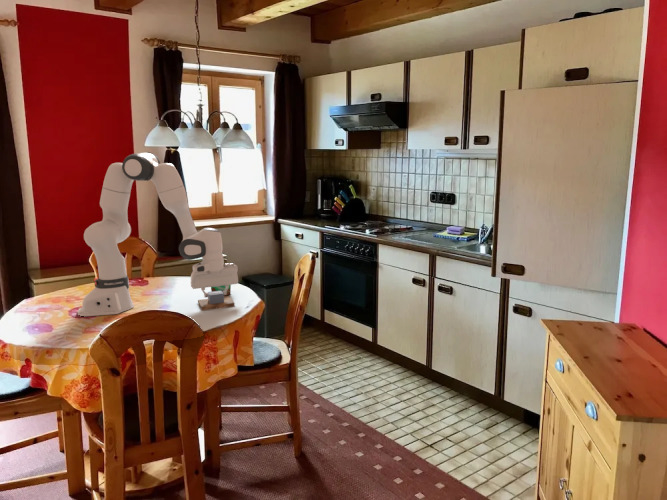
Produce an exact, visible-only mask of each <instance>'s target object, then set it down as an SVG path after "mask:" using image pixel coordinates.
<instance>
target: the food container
mask: <svg viewBox="0 0 667 500" xmlns="http://www.w3.org/2000/svg"><path fill="white" fill-rule="evenodd" d="M231 286H232V285H229V288H228V290H227V295H224V297H227V296H230V295H231V292H232V291H231ZM225 288H226V287H225V285H224V286H215V287H210V290H211V291H210V292H213V291H222V292H223V291H224V290H225Z"/></svg>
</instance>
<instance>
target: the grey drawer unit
mask: <svg viewBox="0 0 667 500" xmlns="http://www.w3.org/2000/svg"><path fill="white" fill-rule="evenodd" d="M207 293H208V297H207V299H208V301H209V303H210V304H217V303H224V294H223V292H222V291H213V292H212V291H207Z"/></svg>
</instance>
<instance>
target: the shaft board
mask: <svg viewBox="0 0 667 500" xmlns="http://www.w3.org/2000/svg"><path fill="white" fill-rule="evenodd" d="M197 304H198V305H199V307H200V309H201V311H207V310H208V311H209V310H215V309H224V308H231V307H236V305H235V304H236V303H235V301H234V300H233V299H232V297H231V296H230V295H229V296H225V297H224V303H217V304H210V303H209V301H208V298H205V299H204V298H203V299H198V300H197Z"/></svg>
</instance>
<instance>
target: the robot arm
mask: <svg viewBox="0 0 667 500" xmlns="http://www.w3.org/2000/svg"><path fill="white" fill-rule="evenodd" d="M135 181H138V182H140V181H141V182H142V181H146V182H148V181H151V182H152V183H153V185H154V186H155V189H156V193H157V196H158V198H159V200H160V201H161V204H162V205H163V207H164V208H165V209H166V210H167V211H169V212H170V213H171V214H173V216H174V217H175V219H176V221H177V223H178V226H179V228H180V231H181V234H182V240H181V242H180V243H179V245H178V251H179V255H180V256H181V257H182V258H183V259H185V260H189V261H191V260H196V259H200V258H202V261H200V262H198V263H195V264H192V272H191V274H190V287H191V289H193V290H194V289H195V290H196V289H201V291H202V293H203V296H204V298H205V299H207V298H208V292H206V291H205V290H206V288H211V287H215V286H224V285H225V287H226V288H225V290H224V291H223V294H224V295H227V290H228V288H229V285H231V286H232V285H236V284H238V283H239V277H238V265H237V264H235V263H234V262H233V263H232V262H231V263H225V262H224V255H223V247H224V246H223V238H222V233H221V232H220V230H219V229H217V228H213V227H204V228H202V229H201V230H200V231H199V230H198V229H197V227H196V225H195V221H194V219H193V217H192V213H191V211H190V207H189V202H188V197H187V196H188V195H187V192H186V189H185V188H186V187H185V186H184V183H183V180H182V178H181V176H180V174H179V172H178V170H177V169H176V167H175V165H174V164H173V163H170V162H169V163H168V162H163V163H162V162H161V161H160V159H159V157H158V156H157V155H156V154H155V153H152V152H149V151H137V152H135V153H132V154H129V155H128V156H127V155H126V157H125V158H124V160H123V161H122V162H114V163H111V164H110V165H109V166H108V168H107V170H106V173H105V176H104V180H103V185H102V189H101V194H100V199H99V207H100V208H101V209H102V220H101V221H96V222H94V223H92V224H91V225H89V226H88V227H87V228H86V229H85V230H84V233H83V240H84V241H85V243H86V245H87V246H88V247H90V248H91V250H92V252H93V254H94V257H95V260H96V263H97V271H98V277H95V278H94V279H93V283H94V288H93V289H92V290H91V291H89V293H87V294H86V295H85V296H84V298H83V301H82V305H81V307H80V308H78V310H77V316H79V315H80V316H79V317H81V316H84V317H95V316H97V317H98V316H105V315H106V316H107V315H109V316H110V315H118V314H120V313H123V312H125V311H128V310H131V309H132V308H134V303H133V300H132V297H131V293H130V283H129V282H130V281H129V275H127V267H126V258H125V257H124V256H123V254H122V253H121V252H120V249H119V247H118V244H119V243H122V242H124V241H125V240H127V239H128V238H129V237H130V235H131V233H132V227H131V224H130V223H129V220H128V219H129V217H128V216H129V215H128V207H129V203H130V202H129V201H130V198H131V192H132V191H131V190H132V188H133V187H132V186H133V183H134V182H135Z"/></svg>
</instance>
